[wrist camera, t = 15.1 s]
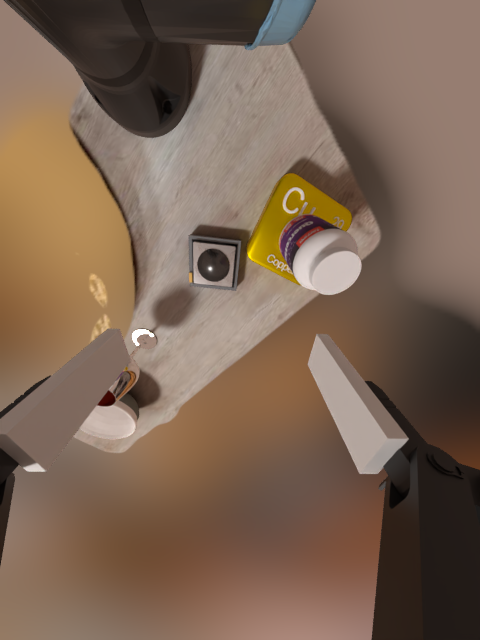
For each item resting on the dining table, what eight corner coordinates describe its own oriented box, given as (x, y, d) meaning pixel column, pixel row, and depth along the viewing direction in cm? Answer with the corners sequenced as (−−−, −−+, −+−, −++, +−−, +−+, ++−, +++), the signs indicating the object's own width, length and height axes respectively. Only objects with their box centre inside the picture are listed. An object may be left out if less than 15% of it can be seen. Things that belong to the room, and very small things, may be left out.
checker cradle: (191, 234, 36) (187, 235, 33) (241, 240, 37) (241, 241, 34) (192, 282, 41) (189, 286, 38) (236, 287, 41) (236, 291, 39)
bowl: (151, 416, 65) (140, 440, 57) (97, 413, 64) (79, 437, 56) (143, 379, 56) (129, 403, 48) (80, 375, 55) (56, 398, 47)
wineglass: (162, 331, 47) (124, 387, 31) (157, 354, 51) (121, 414, 35) (130, 322, 46) (73, 375, 30) (127, 346, 49) (75, 405, 34)
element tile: (242, 253, 38) (243, 257, 34) (280, 172, 32) (287, 165, 28) (300, 283, 42) (307, 290, 37) (345, 216, 35) (360, 215, 31)
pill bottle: (296, 202, 28) (337, 221, 17) (333, 227, 31) (390, 257, 20) (269, 249, 33) (287, 289, 22) (303, 267, 35) (336, 311, 24)
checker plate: (195, 240, 35) (192, 242, 33) (235, 245, 36) (235, 246, 34) (195, 280, 39) (193, 283, 37) (232, 284, 40) (231, 287, 38)
